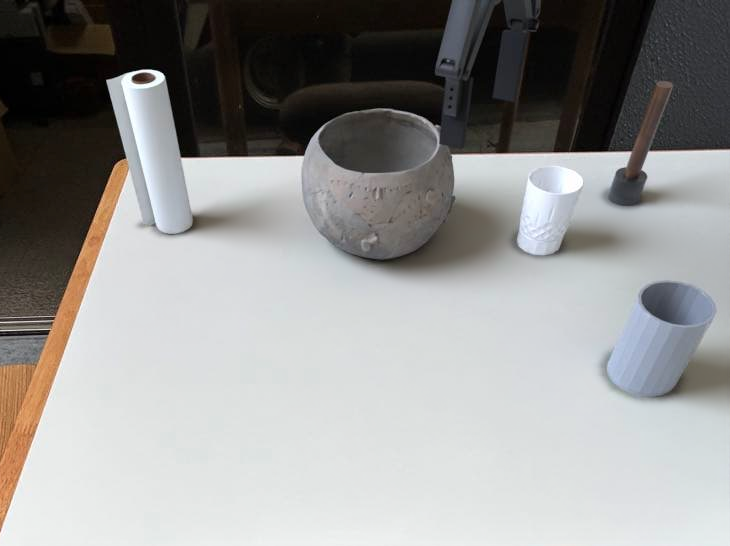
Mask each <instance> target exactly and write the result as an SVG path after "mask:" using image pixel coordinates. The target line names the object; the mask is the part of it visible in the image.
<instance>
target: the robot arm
mask: <svg viewBox="0 0 730 546" xmlns="http://www.w3.org/2000/svg"><path fill="white" fill-rule="evenodd" d="M501 1H502V2H503V7H504V15H505V20H506V24H507V28H510V29H504V30H503V31H502V33H501V38H500V39H501V40H500V47H499V54H498V59H497V66H496V73H495V79H494V85H493V92H492V99H496V100H502V101H505V102H510V103H515V102H516V101H517V99H518V92H519V87H520V82H521V81H520V80H521V76H522V71H523V66H524V65H523V64H524V59H525V55H526V54H525V53H526V48H527V43H528V38H529V32H533V33H536V32H537V30H538V28H539V24H540V19H539V18H538V17H539V16H540V14H541V8H542V7H541V5H542V4H541V3H542V0H451V4H450V9H449V12H448V16H447V20H446V24H445V28H444V32H443V36H442V39H441V43H440V48H439V51H438V56H437V60H436V64H435V67H434V68H435V69H434V74H435V76H437V77H443V78H445V80H444V91H443V101H442V111H441V121H440V127H441V129H440V139H439V144H442V145H446V146H448V147H451V148H454V149H458V150H463V149H464V148H465V146H466V140H467V139H466V138H467V130H468V125H469V124H468V123H469V117H470V116H469V115H470V107H471V101H472V94H473V93H472V92H473V83H474V76H470V75H471V72H472V70H473V69H472V68H473V67H474V63H475V61H476V58H477V55H478V52H479V50H480V47H481V44H482V41H483V38H484V35H485V32H486V29H487V27H488V24H489V22H490V19H491V16H492V13H493V11H494V8H495V6H496V5H499V4H500V3H501Z"/></svg>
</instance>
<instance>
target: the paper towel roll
mask: <svg viewBox="0 0 730 546" xmlns="http://www.w3.org/2000/svg"><path fill="white" fill-rule="evenodd" d="M166 79H167V78H166V76H165V75H164V72H163V73H162V72H161V71H159V70H154V69H140V70H136V71H135V70H134V71H131V72H126V73H123V74H122V75H119V76H117V77H114V78H110V79H106V85H107V89H108V92H109V96H110V100H111V103H112V107H113V112H114V115H115V119H116V122H117V123H116V124H117V127H118V130H119V131H118V132H119V135H120V138H121V142H122V146H123V150H124V154H125V157H126V160H127V161H126V162H127V165H128V169H129V173H130V177H131V180H132V184H133V188H134V191H135V196H136V200H137V204H138V207H139V212H140V215H141V218H142V222H143V225H149V224H151V223H154V222H155V225H156V227H157V229H158V231H160V232H161V233H165V234H169V235H172V234H173V235H174V234H175V235H176V234H177V235H178V234H181V233H184V232H185V231H187V230H190V228H192V226H193V222H194V218H193V214H192V208H191V202H190V198H189V193H188V187H187V183H186V176H185V171H184V167H183V162H182V156H181V152H180V145H179V142H178V141H179V140H178V136H177V130H176V126H175V125H176V124H175V120H174V115H173V109H172V105H171V100H170V95H169V90H168V84H167V80H166Z"/></svg>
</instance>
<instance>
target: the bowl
mask: <svg viewBox="0 0 730 546" xmlns="http://www.w3.org/2000/svg"><path fill="white" fill-rule="evenodd" d="M440 129H441V125H438V124H435V125H434V124H433V123H432V122H431V121H429V120H428V119H427V118H425V117H423V116H422V115H421V116H420V115H417V114H415V113H412V112H408V111H402V110H397V109H393V108H381V107H380V108H379V107H378V108H372V109H366V110H360V111H358V110H356V111H352V112H346V113H343V114H341V115H339V116H337V117H335V118H333V119H331V120H330V121H328V122H326V123H324V124H323V125H322V126H321V127H320V128H319V129H318V130H317V131H316V132H315V133H314V134H313V136H312V137H311V138H310V141H309V143H308V144H307V146H306V147H307V148H306V150H305V153H304V155H303V157H302V158H303V159H302V164H301V173H300V174H301V175H300V176H301V177H300V178H301V193H302V198H303V204H304V206H305V209H306V212H307V214H308V216H309V218H310V220H311V223H312V224H313V226H314V228H315V229H316V230H317V232H318V233H319V234H320V236H322V237H324V238H325V239H326V240H327V241H329V242H330V243H331V244H333V246H335V247H338V248H339V249H340V250H343V251H345V252H347V253H349V254H352V255H355V256H358V257H361V258H366V259H372V260H378V261H381V260H391V259H396V258H400V257H402V256H403V257H404V256H406V255H409V254H410V253H412V252H415V251H416V250H418V249H419V248H421V247H422V246H423V245H424V244H426V243H427V242H428V241H430V239H431V237H433V236H434V235H435V234H436V232H437V231H438V230H439V228H440V227H441V225H442V223H447V222H448V220H449V217H450V213H451V211H452V210H453V208H454V203H455V201H456V199H457V197H456V196H455V195H454V191H455V171H454V163H453V155H452V154H451V151H450V148H449V147H450V146H446V145H442V144H439V139H440Z"/></svg>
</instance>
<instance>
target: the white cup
mask: <svg viewBox="0 0 730 546" xmlns="http://www.w3.org/2000/svg"><path fill="white" fill-rule="evenodd" d="M584 183H585V182H584V178H583V177H582V175H581V174H580V173H578V172H577V171H575V170H573V169H571V168H568V167H564V166H560V165H559V166H558V165H544V166H540V167H537V168H534V169H533V170H532V171H530V172H529V174H528V176H527V182H526V187H525V192H524V197H523V200H522V201H523V202H522V207H521V214H520V219H519V228H518V232H517V238H516V243H517V245H518V247H519V248H520V249H521V250H522V251H524V252H525V253H529V254H531V255H536V256H547V255H548V256H549V255H552V254H554V253H557V252H558V251H559V250H560V247H561V246H562V242H563V239H564V237H565V234H566V232H567V230H568V227H569V225H570V223H571V220H572V217H573V215H574V211H575V209H576V206H577V204H578V201H579V197H580V195H581V193H582V190H583V187H584Z"/></svg>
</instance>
